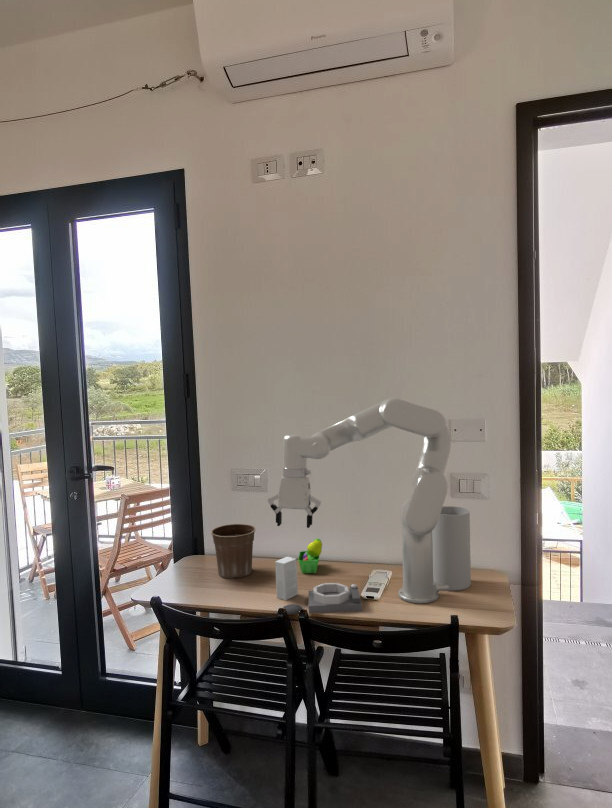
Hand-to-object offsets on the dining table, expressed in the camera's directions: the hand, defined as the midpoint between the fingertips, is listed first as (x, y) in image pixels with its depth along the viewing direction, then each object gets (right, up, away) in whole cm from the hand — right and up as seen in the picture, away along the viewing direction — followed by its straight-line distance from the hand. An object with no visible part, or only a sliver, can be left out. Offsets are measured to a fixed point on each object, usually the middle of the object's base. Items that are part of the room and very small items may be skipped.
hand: (293, 525), depth 173 cm
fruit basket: (+6, -22, +26) cm, 35 cm away
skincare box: (-2, -23, +2) cm, 23 cm away
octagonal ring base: (+13, -23, -6) cm, 27 cm away
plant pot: (-22, -23, +25) cm, 40 cm away
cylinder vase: (+53, -22, +7) cm, 57 cm away
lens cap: (0, -24, -9) cm, 26 cm away
